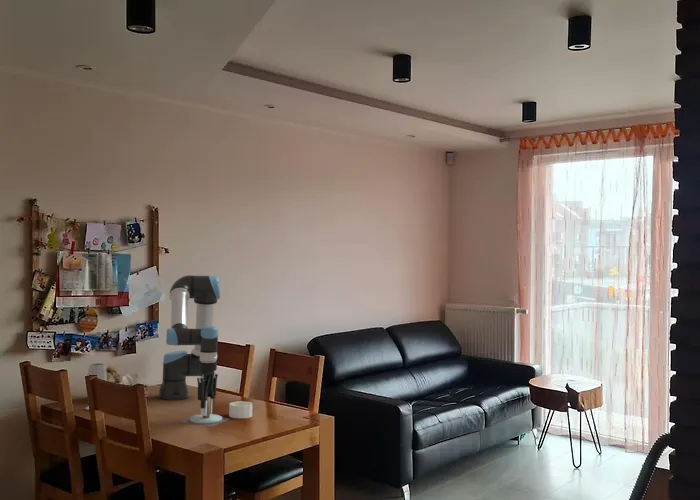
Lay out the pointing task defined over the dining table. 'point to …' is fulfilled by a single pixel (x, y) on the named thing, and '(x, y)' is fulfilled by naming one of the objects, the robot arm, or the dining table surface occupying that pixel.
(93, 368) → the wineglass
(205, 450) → the dining table surface
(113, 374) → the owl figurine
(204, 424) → the mat
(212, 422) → the lid
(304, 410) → the dining table surface
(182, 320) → the robot arm
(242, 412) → the bowl
